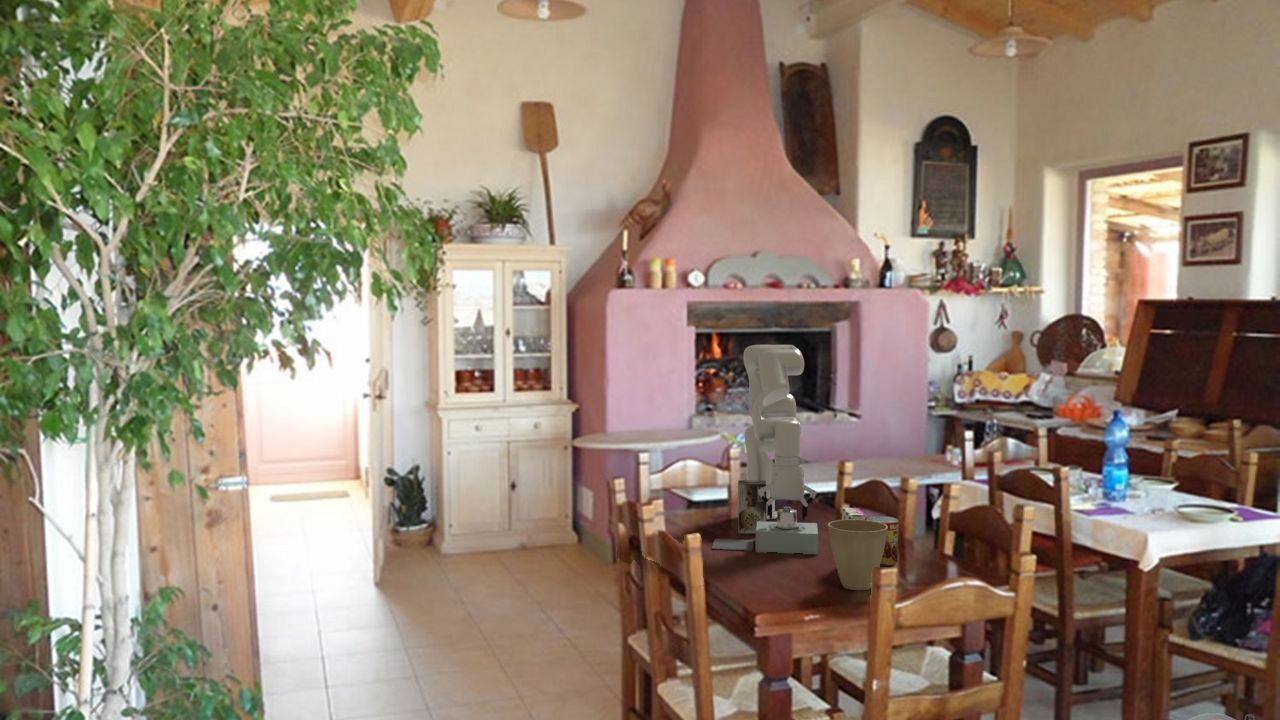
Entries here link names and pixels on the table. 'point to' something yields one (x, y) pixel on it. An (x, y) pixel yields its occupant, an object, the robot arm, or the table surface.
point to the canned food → (889, 539)
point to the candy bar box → (853, 514)
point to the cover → (786, 519)
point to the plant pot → (857, 550)
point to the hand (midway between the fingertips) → (787, 518)
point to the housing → (787, 538)
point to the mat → (733, 544)
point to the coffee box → (750, 505)
